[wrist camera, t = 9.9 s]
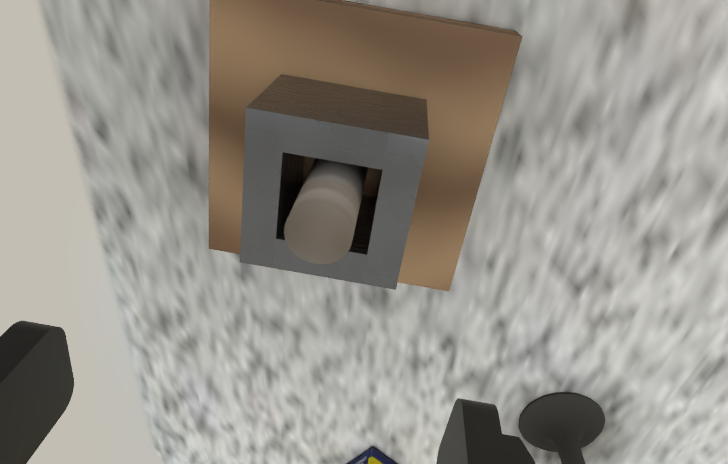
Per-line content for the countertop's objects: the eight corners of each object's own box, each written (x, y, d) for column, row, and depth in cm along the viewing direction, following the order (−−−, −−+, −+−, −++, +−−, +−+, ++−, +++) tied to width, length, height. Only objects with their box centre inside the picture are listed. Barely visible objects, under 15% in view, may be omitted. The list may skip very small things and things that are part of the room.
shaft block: (222, -21, 21) (116, -1, 14) (515, 30, 21) (569, 78, 14) (218, 233, 27) (143, 343, 19) (447, 274, 27) (458, 400, 19)
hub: (281, 73, 21) (245, 107, 17) (426, 99, 21) (429, 139, 17) (272, 204, 24) (239, 261, 20) (399, 226, 24) (395, 289, 20)
